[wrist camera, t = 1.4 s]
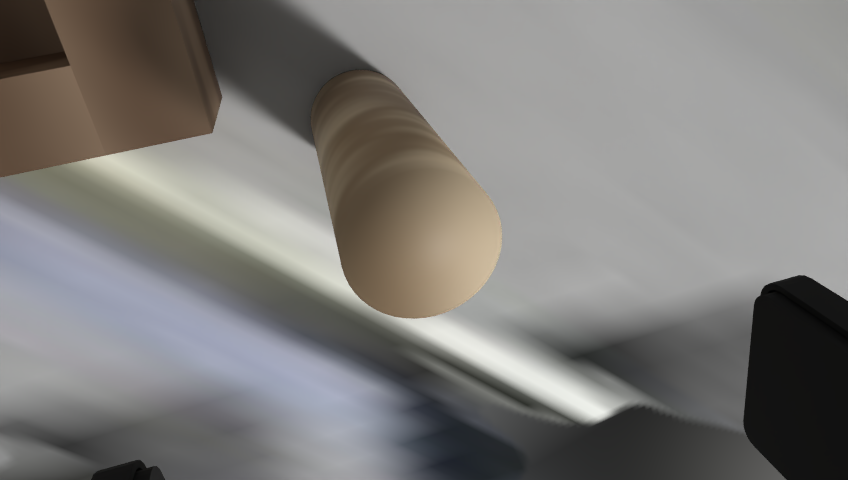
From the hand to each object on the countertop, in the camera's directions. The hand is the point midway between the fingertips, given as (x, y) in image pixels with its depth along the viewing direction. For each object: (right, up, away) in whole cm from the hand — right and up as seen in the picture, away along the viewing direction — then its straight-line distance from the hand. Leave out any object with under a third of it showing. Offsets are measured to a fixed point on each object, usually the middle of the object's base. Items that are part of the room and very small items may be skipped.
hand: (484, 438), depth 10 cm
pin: (-4, +8, +16) cm, 19 cm away
